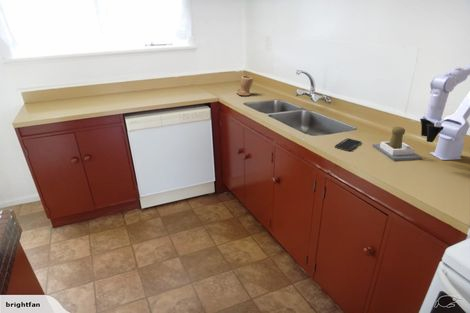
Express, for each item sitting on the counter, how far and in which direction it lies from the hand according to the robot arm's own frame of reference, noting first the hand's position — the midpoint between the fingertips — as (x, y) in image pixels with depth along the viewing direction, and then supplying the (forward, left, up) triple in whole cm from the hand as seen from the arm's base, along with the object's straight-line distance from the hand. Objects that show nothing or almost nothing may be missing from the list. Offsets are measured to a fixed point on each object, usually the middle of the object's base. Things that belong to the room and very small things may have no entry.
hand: (426, 138), depth 129 cm
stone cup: (+54, -138, -11) cm, 148 cm away
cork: (+6, -11, -10) cm, 16 cm away
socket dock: (+5, -11, -10) cm, 16 cm away
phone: (+22, -22, -11) cm, 33 cm away
